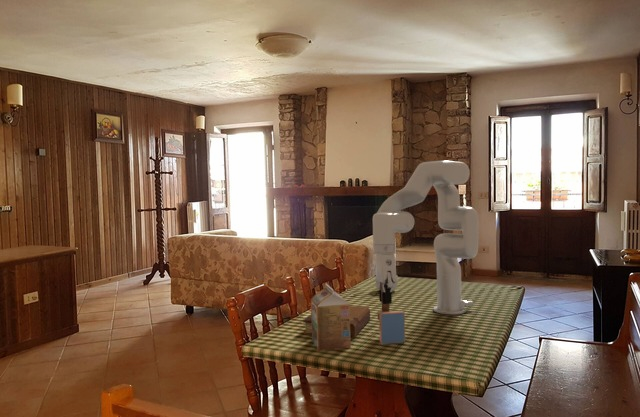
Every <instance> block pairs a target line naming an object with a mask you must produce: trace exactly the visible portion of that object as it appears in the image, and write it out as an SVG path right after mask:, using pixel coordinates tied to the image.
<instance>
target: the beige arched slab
mask: <svg viewBox="0 0 640 417" xmlns="http://www.w3.org/2000/svg"><path fill="white" fill-rule="evenodd" d="M370 320H371V309H370V308H369V306H356V305H350V339H353V338H354V339H355V338H356V337H357V335H358V334H359V333H360V332H361V331H362V330H363V329H364V327H366V325H367V323H369V321H370ZM302 322H303V323H304V324H305V331H304V332H303V335H306V336H312V323H311V314H309V315H308V316H306V317H305V318H304V319H303V321H302Z"/></svg>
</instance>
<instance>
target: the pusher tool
mask: <svg viewBox="0 0 640 417" xmlns="http://www.w3.org/2000/svg"><path fill="white" fill-rule="evenodd" d="M385 283H387V281H385ZM385 286H386V285H385ZM382 292H383V283H381V296H382ZM391 311H392V310H390V304H383V303H382V302H381V310H379V311H377V320H378V321H379V312H391Z"/></svg>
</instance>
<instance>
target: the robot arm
mask: <svg viewBox="0 0 640 417" xmlns="http://www.w3.org/2000/svg"><path fill="white" fill-rule="evenodd" d="M470 173H471V171H470V168H469V166H468V165H467V164H466V163H465V162H462V161H453V160H435V161H424V162H421V163H419V164H418V165H417V167H416V168H415V170H414V171H413V173H412V175H411V176H410V177H409V179H408V181H407V182H406V184H405V186H404V187H402V189H400V190H397V192H395V193H393V194H392V195H391V196H389V197H388V198H386V199H385V201H383V203H381V205H380V207H379V209H378V210H377V212H376V213H374V214H373V216H372V242H373V244H372V247H373V250H372V251H373V252H372V253H373V254H375V279H376V278H377V280H379V289H378V291H379V294H378V296H379V302H380V303H381V304H382V303H383V304H389V305H390V304H392V303H393V301H392V299H393V297H392V296H393V295H392V293H393V292H392V282H393V283H396V282H397V283H398V281H397V277H396V275H397V265H396V264H397V263H396V257H395V254H397V253H396V251H397V250H396V233H399V234H402V233H403V234H404V233H408V232H410V231H411V230H413V229H414V227H415V226H414V225H415V218H414V216H413V215H412V214H411V213H410V212H409V211H404V210H405V209H406V208H409V207H413V206H416V205H418V204H420V203H423V201H424V200H425V199H426V198H427V196H428V194H429V192H430V191H431V189H432V187H434V189H435V191H436V194H437V224H438V226H439V228H441V229H442V230H446V231H458V232H459V231H462V233H449V232H445V233H440V234H438V235H436V237H435V238H434V240H433V249H434V254H435V262H436V298H437V299H436V300H437V301H436V302H437V305H435V306H433V311H434V312H435V313H438V314H442V315H462V314H465V313H466V311H467V310H466V307H468V306H469V307H473V306H474V302H473V301H472V300H468V301H467V300H463V299H462V267H461V264H460V262H459V261H458V259H468V260H471V259H474V258H475V257H476V256H477V255H478V253H479V252H478V251H479V244H480V243H479V241H480V240H479V235H480V234H479V232H480V221H479V220H480V219H479V214H478V212H477V210H476V209H475V208H474V207H472V206H461V199H460V198H461V197H460V192H459V189H458V188H457V187H456V186H455V185H464V184H465V183H467V181H469V178H470V175H471V174H470ZM385 281H387V283H385ZM381 283H383V292H382V296H381ZM385 285H386V286H385Z"/></svg>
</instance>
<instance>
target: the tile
mask: <svg viewBox="0 0 640 417" xmlns="http://www.w3.org/2000/svg"><path fill="white" fill-rule="evenodd" d="M390 311H391V312H379V311H378V312H379V320H378V324H379V325H378V326H379V330H378V331H379V344H381V345H388V344H390V345H391V344H404V343H406V327H405V325H406V321H405V319H406V318H405V311H404V310H396V311H395V310H394V311H393V310H390ZM403 342H404V343H403Z"/></svg>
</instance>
